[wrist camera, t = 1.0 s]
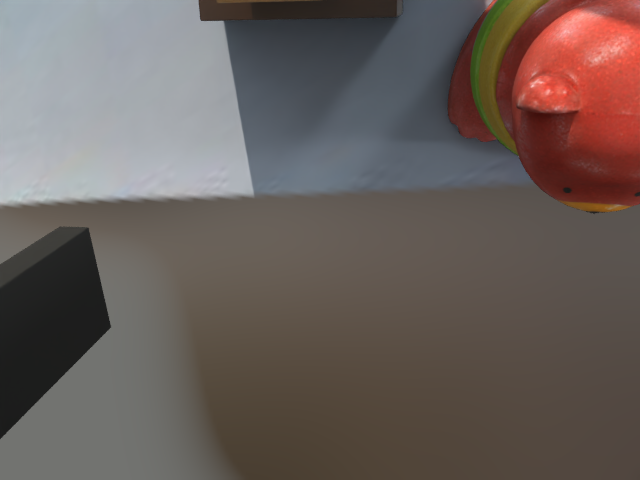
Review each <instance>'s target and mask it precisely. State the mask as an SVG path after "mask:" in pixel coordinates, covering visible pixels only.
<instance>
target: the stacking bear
mask: <svg viewBox="0 0 640 480" xmlns="http://www.w3.org/2000/svg"><path fill="white" fill-rule="evenodd" d="M448 116H449V120H450V121H451V122H452V123H453V124H455V125H457V126H458V130H459V133H460V134H461V135H462V136H463V137H466V138H477V139H478V140H480V141H482V142H488V141H493V140H496V139H497V140H498V141H499V142H500V143H501V144H503V145H504V146H505V147H506V148H507V149H509V150H510V151H511V152H513V153H514V154H516V155H517V156H519V159H520V161H521V163H522V165H523V167H524V169H525V171H526V172H527V173H528V175H529V176H530V178H531V179H532V180H533V181H534V182H535V184H536V185H537V186H538V187H539V188H540V189H541V190H543V191H544V192H545V193H547V194H548V195H549V196H551V197H553V198H554V199H556V200H558V201H560V202H561V203H563V204H565V205H567V206H570V207H573V208H576V209H579V210H583V211H586V212H590V213H599V212H611V211H619V210H623V209H626V208H629V207H631V206H634V205H638V204H640V0H493V2H492V3H491V4H490V5H489V6H488V8H487V9H486V10H485V11H484V13H483V14H482V15H481V17H480V18H479V20H478V21H477V22H476V24H475V25H474V27H473V29H472V30H471V32H470V34H469V35H468V37H467V39H466V41H465V43H464V45H463V47H462V50H461V52H460V54H459V57H458V59H457V62H456V65H455V68H454V72H453V75H452V79H451V84H450V89H449V97H448Z"/></svg>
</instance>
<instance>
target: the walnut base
mask: <svg viewBox="0 0 640 480" xmlns="http://www.w3.org/2000/svg"><path fill="white" fill-rule="evenodd" d="M199 9H200V19H201V21H225V20H278V19H331V18H384V17H397V16H399V15H401V14H402V13H403V0H319V1H279V2H240V3H217V0H199Z"/></svg>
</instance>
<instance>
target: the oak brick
mask: <svg viewBox="0 0 640 480" xmlns="http://www.w3.org/2000/svg"><path fill="white" fill-rule="evenodd" d="M279 1H319V0H217V3H240V2H279Z"/></svg>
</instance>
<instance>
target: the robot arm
mask: <svg viewBox="0 0 640 480" xmlns="http://www.w3.org/2000/svg"><path fill="white" fill-rule="evenodd" d="M110 328H111V325H110V321H109V316H108V312H107V308H106V303H105V299H104V294H103V290H102V286H101V282H100V277H99V272H98V268H97V264H96V259H95V255H94V250H93V246H92V242H91V237H90V233H89V228H85V227H59V228H57V229H55V230H54V231H52V232H51V233H49V234H48V235H46V236H44V237H43V238H41V239H40V240H38V241H36V242H35V243H33V244H32V245H30V246H29V247H27V248H25V249H24V250H23V251H21V252H19V253H18V254H16V255H14V256H13V257H11V258H10V259H8V260H7V261H5V262H3V263H2V264H0V439H1V438H2V437H3V435H5V434H6V432H7V431H8V430H10V429H11V428H12V426H13V425H15V424H16V423H17V422H18V421H19V419H20V418H21V417H22V416H23V415H24V414H25V413H26V412H27V411H28V410H29V409H30V408H31V407H32V406H33V405H34V404H35V403H36V402H37V401H38V400H39V399H40V398H41V397H42V396H43V395H44V394H45V393H46V392H47V391H48V390H49V389H50V388H51V387H52V386H53V385H54V384H55V383H56V382H57V381H58V380H59V379H60V378H61V377H62V376H63V375H64V374H65V373H66V372H67V371H68V370H69V369H70V368H71V367H72V366H73V365H74V364H75V363H76V362H77V361H78V360H79V359H80V358H81V357H82V356H83V355H84V354H85V353H86V352H87V351H88V350H89V349H90V348H91V347H92V346H93V345H94V344H95V343H96V342H97V341H98V340H99V339H100V338H101V337H102V336H103V335H104V334H105V333H106V332H107V331H108V330H109V329H110Z"/></svg>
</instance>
